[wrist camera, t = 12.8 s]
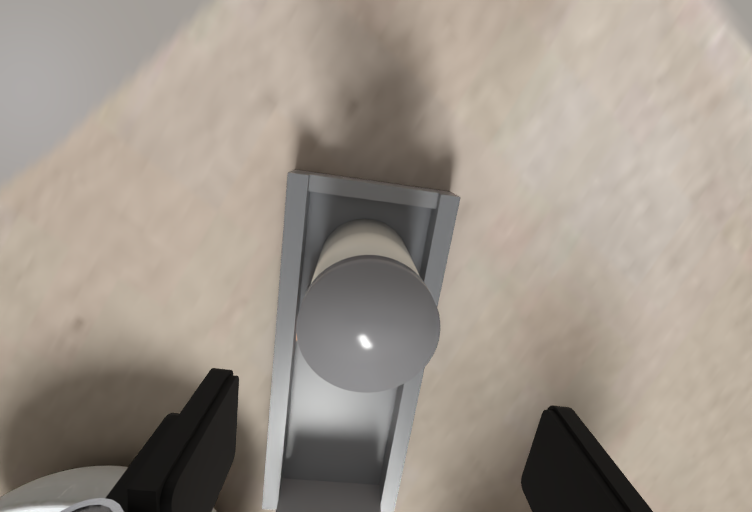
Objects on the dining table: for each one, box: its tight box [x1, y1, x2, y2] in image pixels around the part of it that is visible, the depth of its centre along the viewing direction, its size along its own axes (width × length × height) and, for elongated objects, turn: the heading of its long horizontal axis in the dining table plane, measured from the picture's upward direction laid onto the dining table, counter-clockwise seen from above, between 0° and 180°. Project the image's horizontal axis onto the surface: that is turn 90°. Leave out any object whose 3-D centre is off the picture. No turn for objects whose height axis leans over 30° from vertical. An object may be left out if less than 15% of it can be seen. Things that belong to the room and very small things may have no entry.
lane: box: [262, 169, 460, 512], centre depth 25 cm, size 10×26×7 cm, turn 172°
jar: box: [296, 219, 440, 393], centre depth 21 cm, size 6×6×10 cm
